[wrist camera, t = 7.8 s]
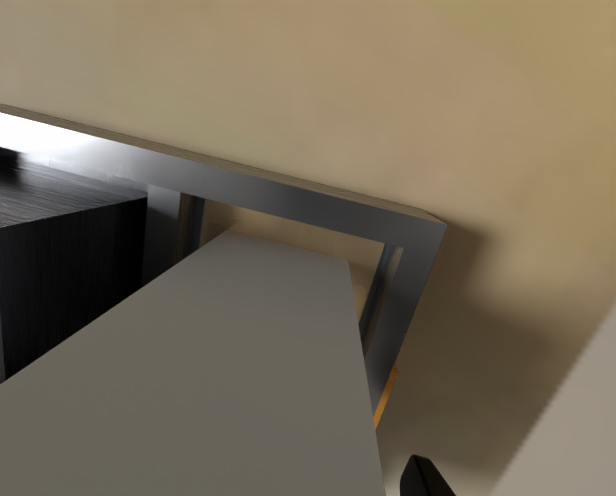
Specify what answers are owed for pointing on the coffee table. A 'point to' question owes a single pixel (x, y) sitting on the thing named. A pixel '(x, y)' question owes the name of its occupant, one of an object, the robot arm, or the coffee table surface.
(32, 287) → the rack
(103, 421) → the grey block
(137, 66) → the coffee table surface
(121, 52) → the coffee table surface
